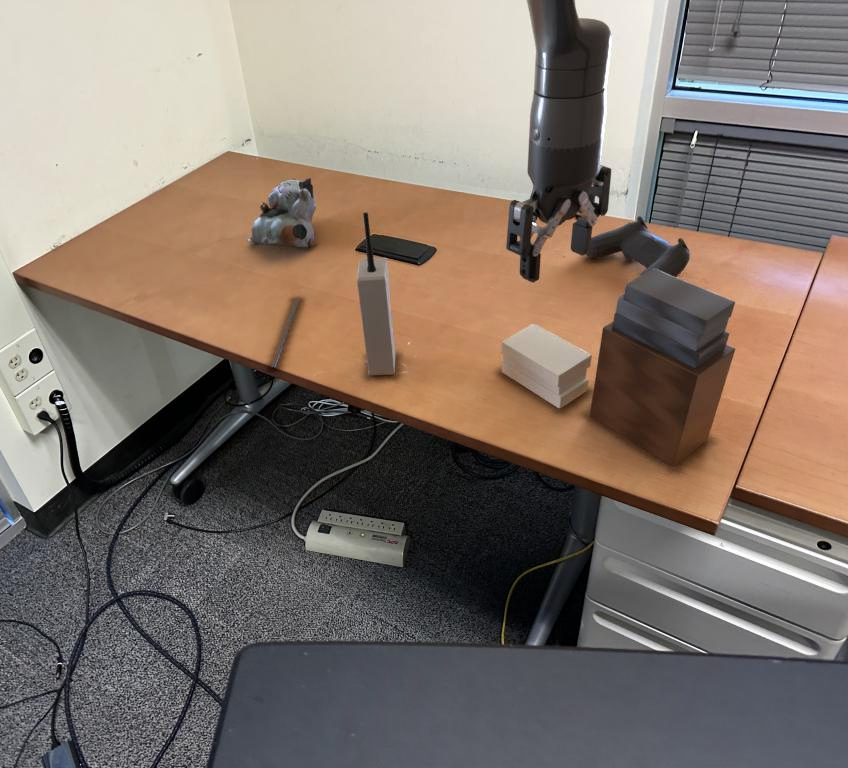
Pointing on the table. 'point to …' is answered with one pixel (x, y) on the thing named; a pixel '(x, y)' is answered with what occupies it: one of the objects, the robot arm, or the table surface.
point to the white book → (546, 354)
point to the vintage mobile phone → (376, 310)
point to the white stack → (546, 383)
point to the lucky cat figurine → (287, 216)
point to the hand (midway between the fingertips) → (555, 265)
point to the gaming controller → (641, 248)
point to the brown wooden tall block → (663, 365)
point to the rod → (285, 334)
